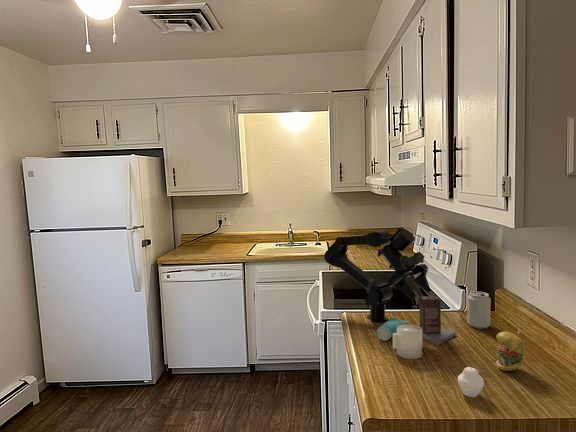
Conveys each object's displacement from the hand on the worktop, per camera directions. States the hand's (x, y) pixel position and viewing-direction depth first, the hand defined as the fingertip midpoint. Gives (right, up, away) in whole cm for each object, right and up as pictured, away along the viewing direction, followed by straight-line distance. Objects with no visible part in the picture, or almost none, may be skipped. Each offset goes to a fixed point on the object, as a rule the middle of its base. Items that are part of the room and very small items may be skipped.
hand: (422, 294), depth 143 cm
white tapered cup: (-9, -16, -15) cm, 23 cm away
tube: (-15, -12, -6) cm, 20 cm away
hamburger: (+16, -16, -27) cm, 35 cm away
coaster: (+2, -14, -1) cm, 14 cm away
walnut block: (-5, -15, -9) cm, 18 cm away
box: (+2, -13, -1) cm, 13 cm away
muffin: (-1, -18, -39) cm, 43 cm away
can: (+22, -13, +6) cm, 26 cm away
